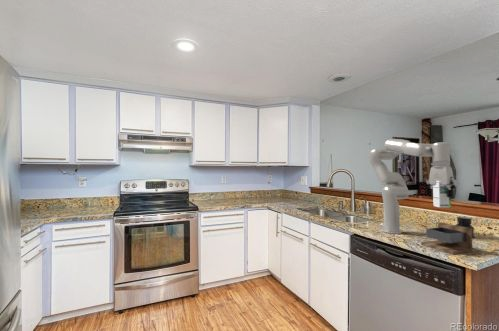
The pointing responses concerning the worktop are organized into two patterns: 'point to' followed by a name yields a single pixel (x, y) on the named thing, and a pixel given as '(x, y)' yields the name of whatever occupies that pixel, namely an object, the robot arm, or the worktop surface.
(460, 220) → the ink bottle
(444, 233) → the open storage bin
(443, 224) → the bracket board
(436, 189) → the syrup box
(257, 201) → the worktop surface
